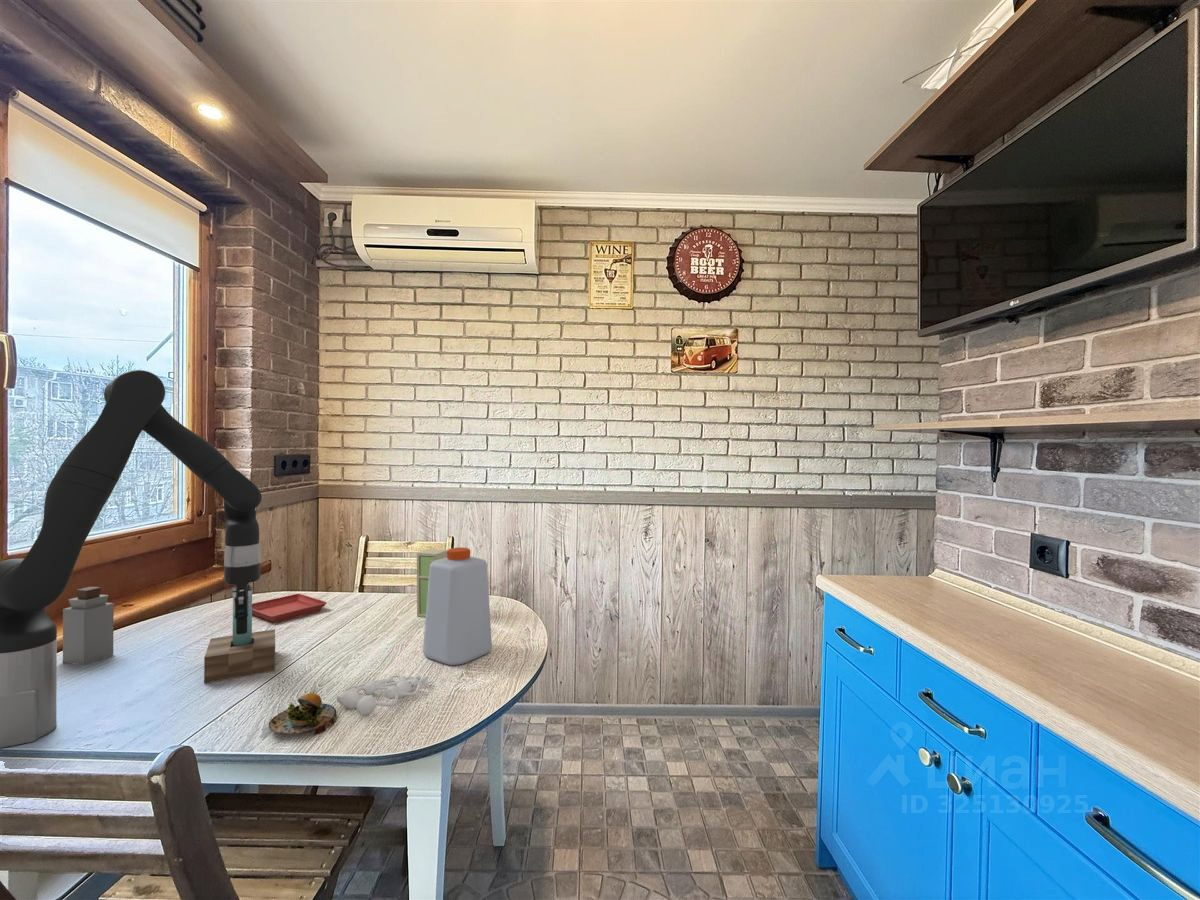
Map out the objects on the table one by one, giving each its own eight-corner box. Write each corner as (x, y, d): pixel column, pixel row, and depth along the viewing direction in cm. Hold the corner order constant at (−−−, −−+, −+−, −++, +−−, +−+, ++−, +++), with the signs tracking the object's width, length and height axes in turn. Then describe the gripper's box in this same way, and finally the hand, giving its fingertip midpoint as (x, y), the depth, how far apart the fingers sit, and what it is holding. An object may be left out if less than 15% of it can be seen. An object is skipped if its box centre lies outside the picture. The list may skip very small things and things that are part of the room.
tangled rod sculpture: (403, 678, 131) (403, 661, 131) (443, 688, 123) (443, 670, 124) (326, 708, 115) (326, 688, 115) (366, 722, 107) (366, 700, 107)
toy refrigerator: (414, 617, 173) (415, 552, 173) (428, 610, 180) (428, 548, 180) (436, 619, 171) (436, 554, 171) (448, 613, 178) (449, 549, 178)
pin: (251, 650, 133) (251, 590, 133) (232, 653, 131) (232, 592, 131) (252, 645, 136) (252, 586, 136) (233, 648, 134) (233, 588, 134)
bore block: (274, 670, 131) (275, 646, 131) (204, 683, 124) (204, 657, 124) (275, 651, 143) (275, 629, 143) (210, 662, 136) (210, 638, 136)
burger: (261, 725, 107) (262, 687, 107) (325, 705, 115) (325, 670, 115) (278, 750, 98) (278, 709, 98) (345, 726, 106) (346, 689, 106)
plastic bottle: (498, 650, 146) (499, 548, 146) (455, 669, 133) (456, 557, 133) (460, 639, 154) (460, 542, 154) (416, 656, 141) (416, 550, 141)
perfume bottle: (83, 664, 133) (84, 592, 133) (62, 662, 135) (63, 591, 135) (113, 654, 140) (113, 586, 140) (92, 652, 141) (93, 584, 141)
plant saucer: (328, 611, 179) (328, 601, 179) (271, 626, 164) (271, 615, 164) (298, 602, 189) (298, 593, 189) (242, 615, 174) (242, 605, 174)
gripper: (259, 566, 129) (259, 637, 130) (260, 555, 142) (260, 620, 142) (221, 569, 125) (221, 642, 126) (226, 558, 138) (226, 624, 138)
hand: (242, 630), depth 134 cm, fingers closed on pin, 4 cm apart
